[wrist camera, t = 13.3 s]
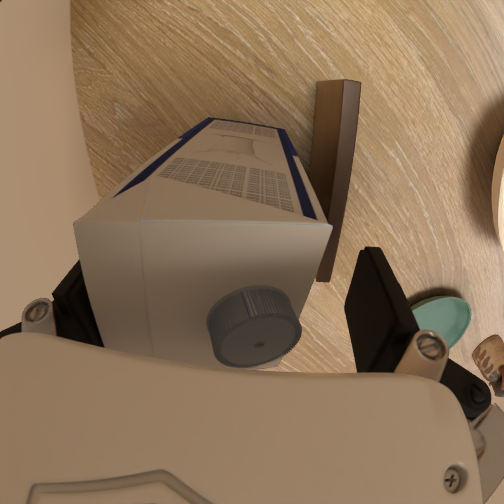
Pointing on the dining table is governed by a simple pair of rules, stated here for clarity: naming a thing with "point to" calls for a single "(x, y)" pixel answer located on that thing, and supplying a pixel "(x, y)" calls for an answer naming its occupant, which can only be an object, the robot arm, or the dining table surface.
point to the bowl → (499, 194)
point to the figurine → (491, 362)
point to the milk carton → (206, 249)
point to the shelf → (333, 157)
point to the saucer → (443, 316)
